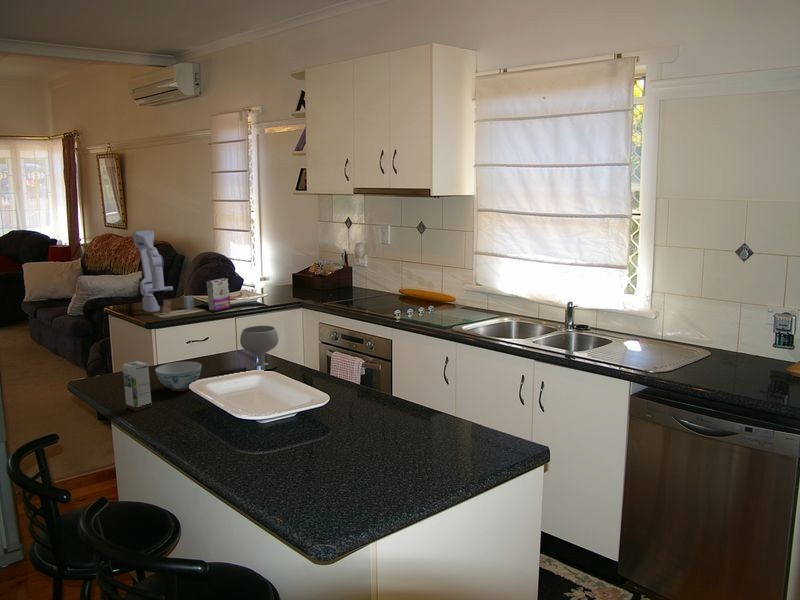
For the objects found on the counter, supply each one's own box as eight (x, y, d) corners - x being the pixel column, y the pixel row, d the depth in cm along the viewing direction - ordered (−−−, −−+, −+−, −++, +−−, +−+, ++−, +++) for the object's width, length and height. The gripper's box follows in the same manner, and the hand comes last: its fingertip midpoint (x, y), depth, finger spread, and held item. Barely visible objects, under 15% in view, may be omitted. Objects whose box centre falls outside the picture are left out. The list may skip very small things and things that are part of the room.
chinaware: (165, 399, 229) (163, 376, 227) (151, 388, 241) (149, 366, 239) (209, 389, 237) (208, 367, 236) (194, 380, 249) (192, 359, 248)
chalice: (275, 361, 271) (273, 323, 269) (283, 370, 258) (281, 330, 256) (239, 366, 266) (236, 327, 263) (245, 375, 253) (243, 334, 251)
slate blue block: (184, 309, 380) (183, 296, 379) (191, 308, 383) (190, 295, 381) (187, 310, 377) (186, 297, 376) (194, 308, 380) (193, 296, 378)
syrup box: (125, 409, 220) (121, 364, 217) (142, 403, 225) (138, 360, 222) (135, 412, 216) (131, 367, 214) (152, 407, 221) (148, 362, 218)
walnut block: (159, 313, 366) (160, 299, 366) (166, 313, 369) (167, 300, 369) (162, 314, 364) (163, 300, 363) (169, 314, 366) (171, 301, 366)
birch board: (152, 315, 369) (151, 314, 368) (194, 308, 384) (194, 307, 384) (163, 319, 358) (163, 317, 358) (206, 312, 374) (206, 310, 374)
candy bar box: (225, 307, 386) (222, 278, 383) (230, 308, 383) (228, 278, 380) (208, 311, 377) (206, 280, 374) (214, 311, 374) (211, 281, 371)
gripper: (147, 282, 354) (149, 308, 356) (174, 278, 364) (176, 304, 366) (141, 280, 359) (144, 306, 362) (168, 277, 369) (170, 302, 371)
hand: (160, 305), depth 364 cm, fingers closed
